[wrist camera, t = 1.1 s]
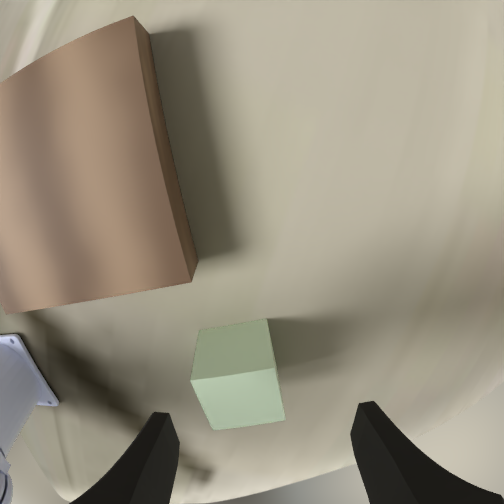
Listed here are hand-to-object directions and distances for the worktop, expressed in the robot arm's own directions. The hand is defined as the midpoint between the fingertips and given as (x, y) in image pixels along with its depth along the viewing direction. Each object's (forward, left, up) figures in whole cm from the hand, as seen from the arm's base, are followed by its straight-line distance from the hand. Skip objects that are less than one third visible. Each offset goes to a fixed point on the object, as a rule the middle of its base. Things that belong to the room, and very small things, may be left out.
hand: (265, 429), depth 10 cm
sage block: (-2, -3, -10) cm, 10 cm away
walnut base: (-10, +11, -10) cm, 17 cm away
